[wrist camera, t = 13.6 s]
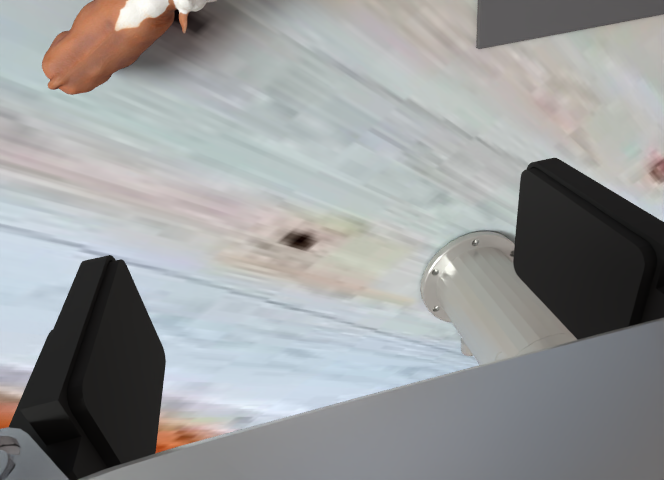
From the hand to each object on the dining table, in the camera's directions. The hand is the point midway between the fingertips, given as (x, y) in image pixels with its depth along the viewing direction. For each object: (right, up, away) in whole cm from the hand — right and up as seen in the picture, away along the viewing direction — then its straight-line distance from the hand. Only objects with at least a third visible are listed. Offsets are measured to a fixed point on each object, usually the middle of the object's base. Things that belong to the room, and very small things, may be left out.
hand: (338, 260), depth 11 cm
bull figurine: (-15, +18, +26) cm, 35 cm away
